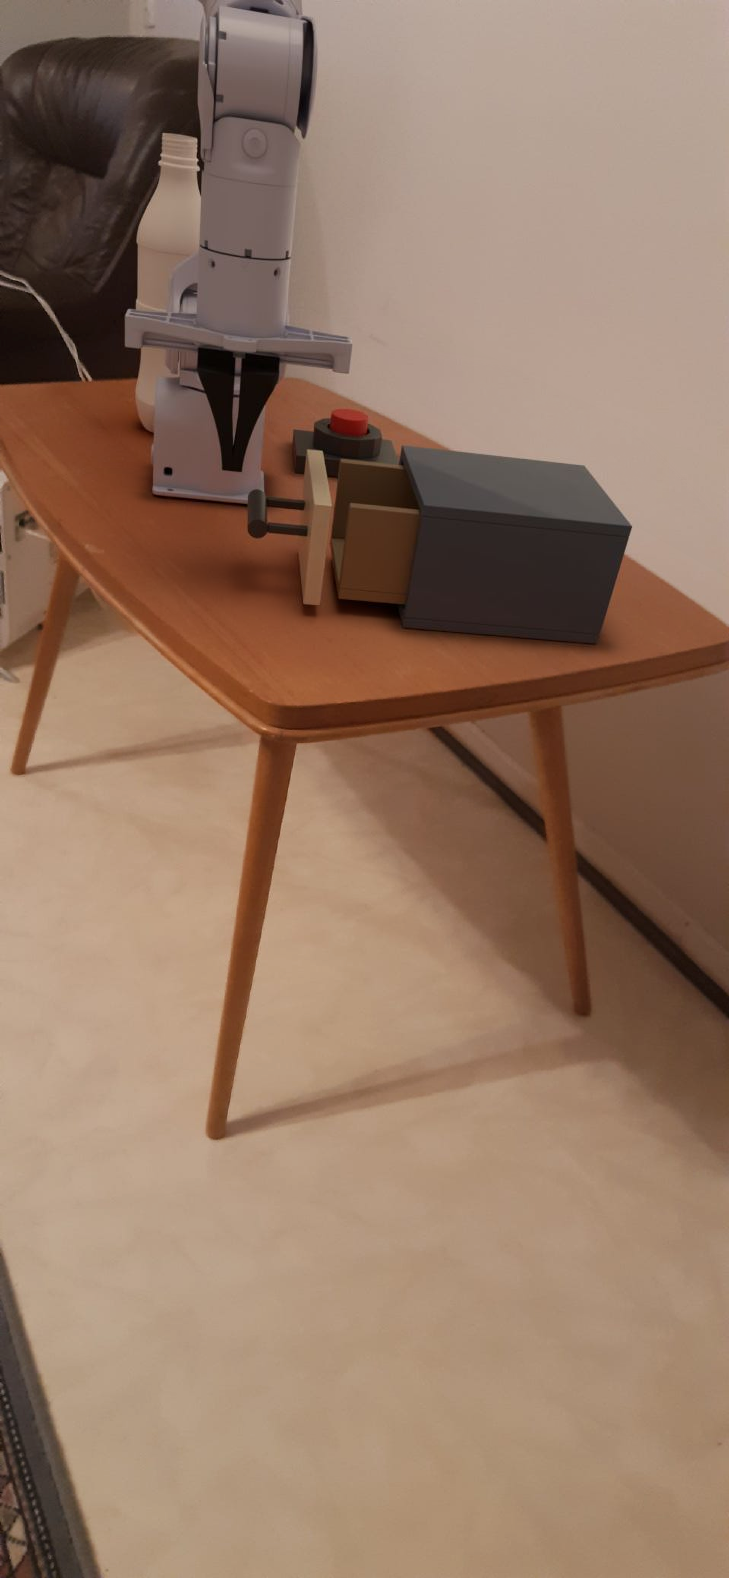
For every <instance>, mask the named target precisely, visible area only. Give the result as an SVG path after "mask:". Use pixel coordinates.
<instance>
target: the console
mask: <svg viewBox="0 0 729 1578" xmlns="http://www.w3.org/2000/svg"><path fill="white" fill-rule="evenodd" d="M330 421H331V417H328V418H321V419H319V420H316V421H314V424H313V430H303V429H293V432H292V443H291V448H292V449H291V450H292V457H293V469H294V473H296V474H304V473H305V463H306V454H307V449H309V450H318V451H323V457H324V462H325V468H326V474H327V477H333V478H338V473H339V465H340V459H348V460H357V461H367V462H376V463H385V464H394V465H399V461H400V459H399V458H398V454H397V452H396V449H395V445H394V443H393V440H392V439H383V433H382V430H381V429H380V428H378V427H377V426H375V425H372V424H370V423H368V427H367V434H366V435H363V436H352V435H343V434H340V433H336V432H333V431H332V430H330Z"/></svg>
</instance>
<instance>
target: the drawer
mask: <svg viewBox="0 0 729 1578" xmlns="http://www.w3.org/2000/svg"><path fill="white" fill-rule="evenodd" d="M268 508H276V509H284V510H293V511H300V513H299V523H298V524H291V523H281V522H280V523H279V522H272V521H268ZM332 510H333V514H332ZM420 514H421V511H420V508H419V505H418V502H417V500H416V497H415V494H414V491H413V489H412V486H411V483H410V480H409V477H408V475H407V472H406V469H405V466H404V465H394V464H385V463H376V462H367V461H357V460H348V459H340V465H339V473H338V477H337V482H336V491H335V498H334V507H333V502H332V497H331V492H330V486H329V481H328V476H327V474H326V468H325V462H324V457H323V451H318V450H309V449H307V454H306V463H305V473H303V483H302V493H301V499H293V498H285V497H276V496H275V497H273V496H267V494H266V493H265V491H264V492H263V491H261V490H258V489H255V490H252V491H251V492H250V493H249V495H248V504H247V520H246V521H247V522H246V523H247V526H246V528H247V533H248V535H249V536H250V537H252V538H254V539H262V538H264V537H265V536H266V535H267V534H277V535H288V536H297V549H298V550H297V551H298V561H299V571H300V582H301V584H300V585H301V594H302V603H303V605H311V606H320V605H321V602H322V601H321V600H322V593H323V586H324V585H323V584H324V576H325V568H326V559H327V552H328V544H329V547H330V553H331V560H332V566H333V572H334V573H333V574H334V579H335V585H336V592H337V598H338V599H339V600H349V601H360V602H361V601H362V602H373V603H383V604H384V603H385V604H393V605H394V604H395V605H397V604H405V600H406V594H407V589H408V583H409V577H410V571H411V566H412V560H413V554H414V548H415V542H416V537H417V531H418V525H419V519H420ZM331 518H332V519H331ZM331 520H332V522H331ZM330 529H331V530H330ZM329 535H330V540H329Z"/></svg>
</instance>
